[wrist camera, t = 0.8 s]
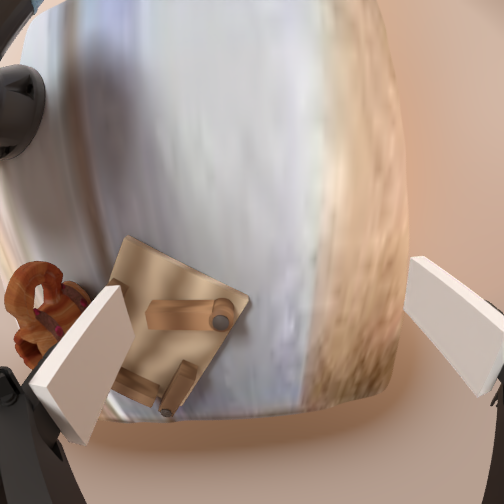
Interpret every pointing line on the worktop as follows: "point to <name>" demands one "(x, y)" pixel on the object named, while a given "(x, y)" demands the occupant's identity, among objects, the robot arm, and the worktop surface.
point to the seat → (164, 341)
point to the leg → (190, 315)
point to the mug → (42, 308)
